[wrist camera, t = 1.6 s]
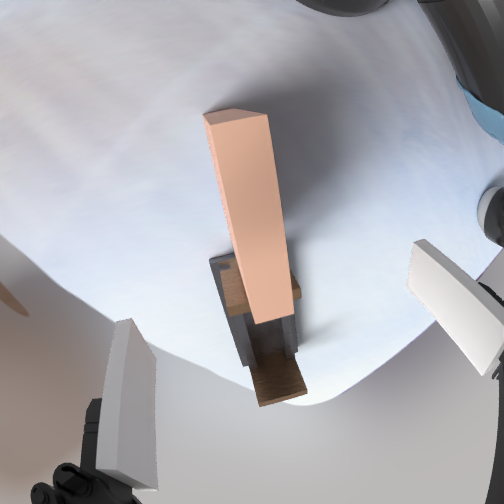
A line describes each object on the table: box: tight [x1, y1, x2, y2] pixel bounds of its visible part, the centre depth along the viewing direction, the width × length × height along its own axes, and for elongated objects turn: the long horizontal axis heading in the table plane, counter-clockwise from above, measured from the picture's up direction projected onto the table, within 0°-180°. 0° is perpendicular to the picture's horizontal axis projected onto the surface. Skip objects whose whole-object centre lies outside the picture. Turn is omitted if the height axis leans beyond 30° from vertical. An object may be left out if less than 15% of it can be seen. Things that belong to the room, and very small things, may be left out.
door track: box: [209, 253, 307, 407], centre depth 35 cm, size 9×20×9 cm, turn 10°
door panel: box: [203, 108, 294, 324], centre depth 23 cm, size 3×14×14 cm, turn 10°
